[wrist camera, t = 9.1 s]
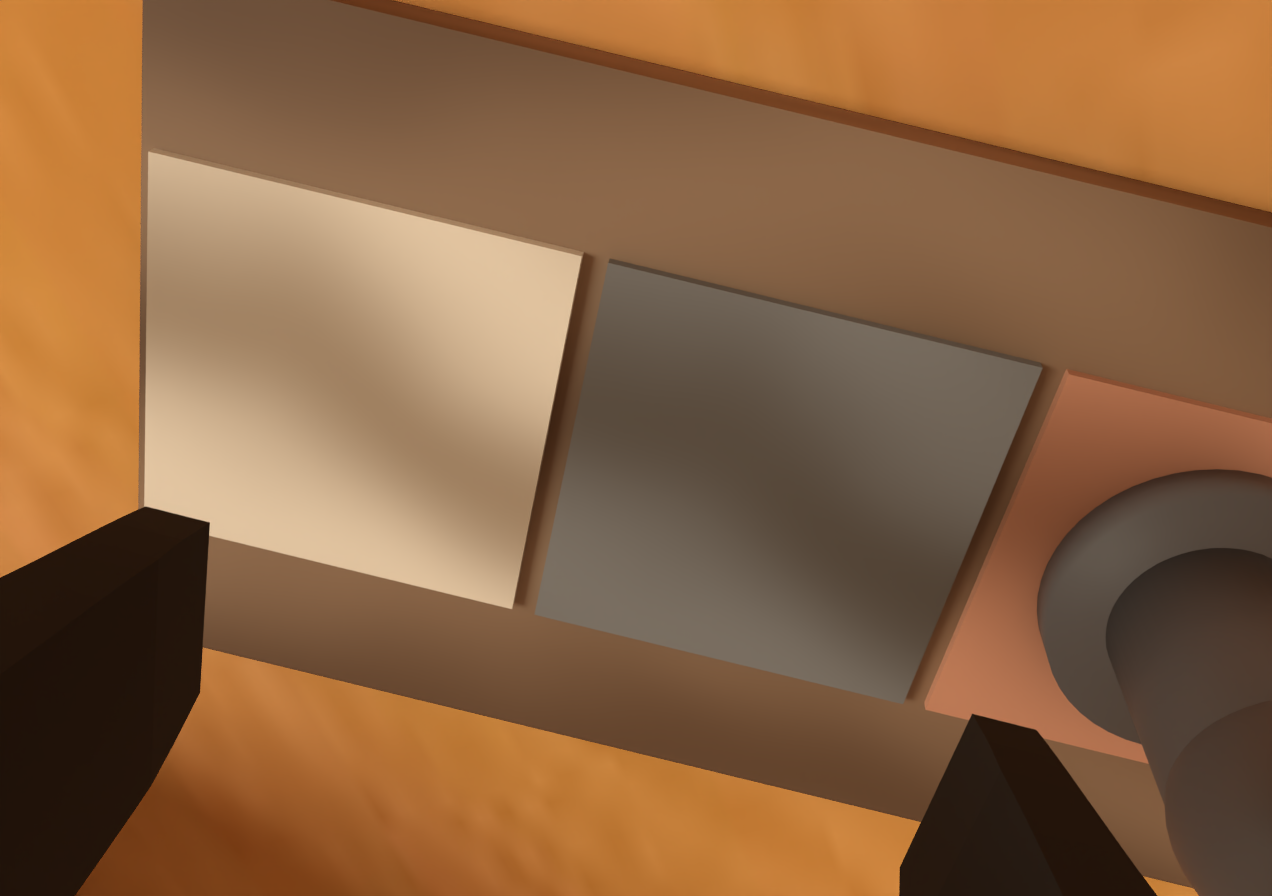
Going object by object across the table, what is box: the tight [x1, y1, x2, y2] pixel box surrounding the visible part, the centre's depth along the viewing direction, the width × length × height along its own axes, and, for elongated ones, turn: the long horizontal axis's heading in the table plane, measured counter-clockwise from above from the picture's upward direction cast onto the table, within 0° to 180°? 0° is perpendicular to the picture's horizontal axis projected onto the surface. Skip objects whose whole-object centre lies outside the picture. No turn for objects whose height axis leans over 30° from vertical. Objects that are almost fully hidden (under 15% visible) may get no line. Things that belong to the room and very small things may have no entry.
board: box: [138, 0, 1272, 888], centre depth 20 cm, size 12×28×1 cm, turn 78°
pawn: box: [1037, 469, 1272, 896], centre depth 16 cm, size 5×5×6 cm
